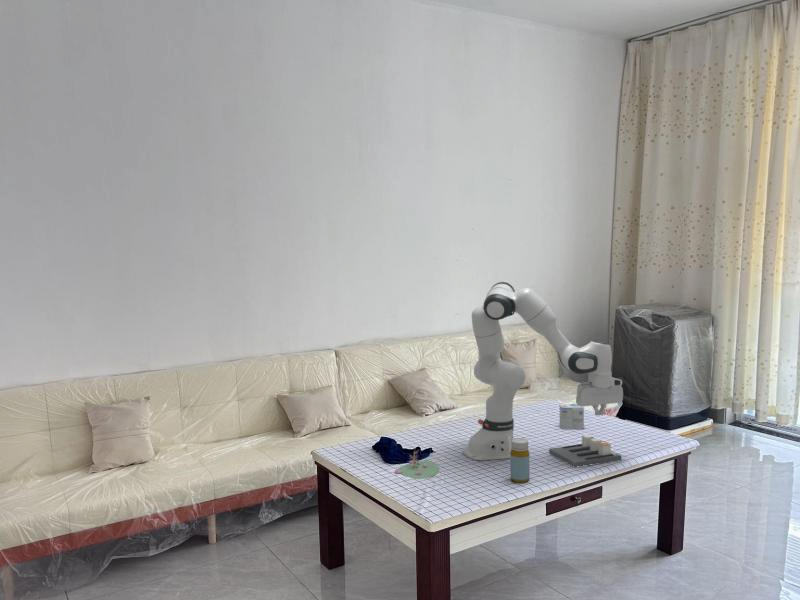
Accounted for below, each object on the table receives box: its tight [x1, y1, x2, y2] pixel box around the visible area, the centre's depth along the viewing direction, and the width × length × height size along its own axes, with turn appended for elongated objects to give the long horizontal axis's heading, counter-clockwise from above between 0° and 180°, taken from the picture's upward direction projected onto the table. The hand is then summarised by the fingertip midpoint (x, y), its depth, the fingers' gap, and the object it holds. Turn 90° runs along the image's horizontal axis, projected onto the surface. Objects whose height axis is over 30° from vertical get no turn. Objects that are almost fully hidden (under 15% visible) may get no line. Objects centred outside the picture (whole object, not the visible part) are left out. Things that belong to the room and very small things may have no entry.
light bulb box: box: [559, 403, 585, 430], centre depth 300 cm, size 11×7×11 cm, turn 84°
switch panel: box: [548, 434, 622, 468], centre depth 259 cm, size 22×18×6 cm
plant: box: [394, 447, 440, 480], centre depth 247 cm, size 25×21×9 cm
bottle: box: [509, 437, 530, 483], centre depth 235 cm, size 7×7×15 cm
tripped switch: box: [598, 441, 612, 455], centre depth 255 cm, size 4×3×4 cm
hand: (599, 415), depth 253 cm, fingers closed
